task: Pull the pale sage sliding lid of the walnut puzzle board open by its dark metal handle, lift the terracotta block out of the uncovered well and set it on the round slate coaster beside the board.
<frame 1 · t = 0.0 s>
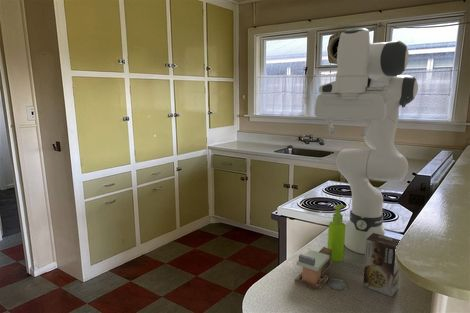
hand: (347, 134, 100), 48 cm above the table, tool pointing down, fingers open, 8 cm apart
terracotta block: (311, 280, 109), resting in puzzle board
sliding lid: (313, 257, 108), point 8 cm above the table, slide at 0.0 cm
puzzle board: (311, 280, 109), on the table
slate coaster: (337, 285, 107), on the table
soap dispenser: (335, 257, 125), on the table
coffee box: (379, 287, 106), on the table
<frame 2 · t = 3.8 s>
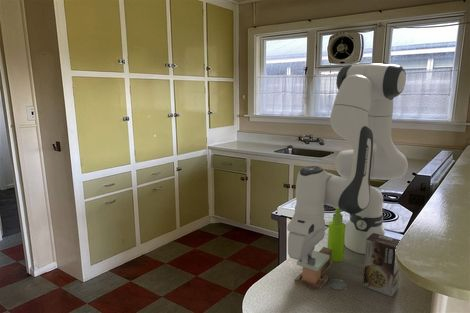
hand: (306, 260, 105), 8 cm above the table, tool pointing down, fingers closed on sliding lid
sliding lid: (313, 257, 108), point 8 cm above the table, slide at 0.0 cm, touching gripper
everything else where it was.
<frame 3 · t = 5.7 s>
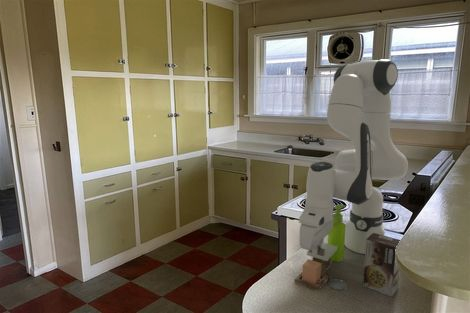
hand: (316, 251, 112), 8 cm above the table, tool pointing down, fingers closed on sliding lid
sliding lid: (322, 248, 115), point 8 cm above the table, slide at 7.9 cm, touching gripper
everything else where it was.
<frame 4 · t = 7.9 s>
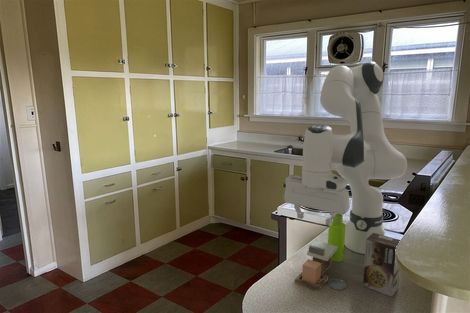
hand: (314, 221, 105), 20 cm above the table, tool pointing down, fingers open, 8 cm apart
sliding lid: (322, 248, 115), point 8 cm above the table, slide at 7.9 cm
everything else where it was.
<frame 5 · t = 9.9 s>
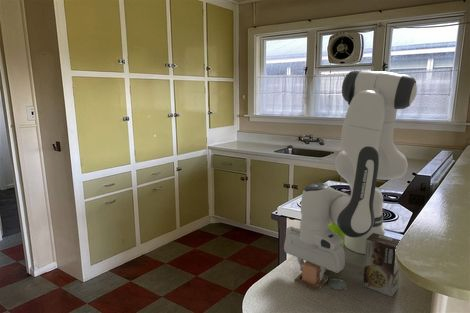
hand: (311, 273, 109), 2 cm above the table, tool pointing down, fingers closed on terracotta block, 5 cm apart
terracotta block: (311, 280, 109), resting in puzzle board, touching gripper
everything else where it was.
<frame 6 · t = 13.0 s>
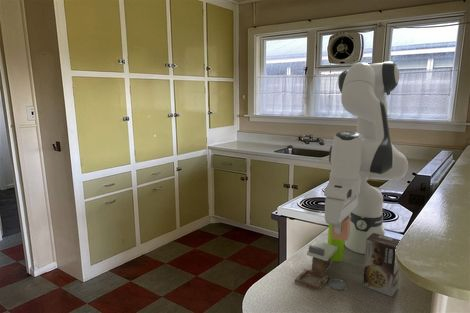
hand: (341, 229, 103), 19 cm above the table, tool pointing down, fingers closed on terracotta block, 5 cm apart
terracotta block: (340, 236, 104), point 16 cm above the table, touching gripper
everything else where it was.
when the fingers open (4 cm above the table, at t = 16.0 s): terracotta block drops 1 cm, resting on slate coaster.
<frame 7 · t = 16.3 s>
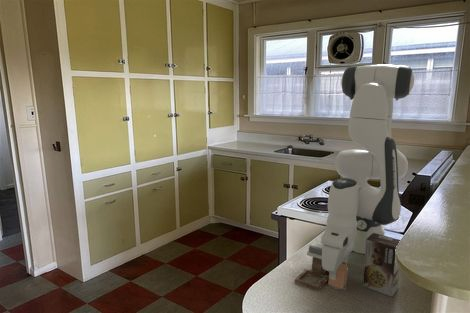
hand: (338, 272, 106), 4 cm above the table, tool pointing down, fingers open, 7 cm apart
terracotta block: (337, 283, 107), point 1 cm above the table, touching slate coaster
everything else where it was.
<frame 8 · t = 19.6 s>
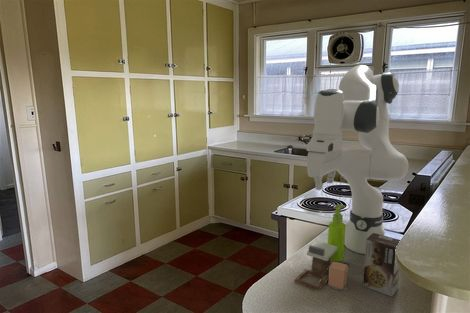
hand: (324, 185, 106), 31 cm above the table, tool pointing down, fingers open, 8 cm apart
nothing on the table moved.
at the end: sliding lid slide at 7.9 cm; terracotta block 0.2 cm off-centre on the slate coaster, point 0.5 cm above the slate coaster's base; terracotta block tilted 0° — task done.
